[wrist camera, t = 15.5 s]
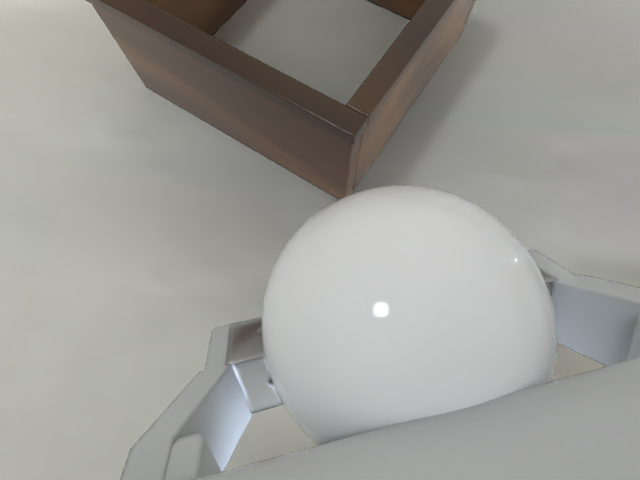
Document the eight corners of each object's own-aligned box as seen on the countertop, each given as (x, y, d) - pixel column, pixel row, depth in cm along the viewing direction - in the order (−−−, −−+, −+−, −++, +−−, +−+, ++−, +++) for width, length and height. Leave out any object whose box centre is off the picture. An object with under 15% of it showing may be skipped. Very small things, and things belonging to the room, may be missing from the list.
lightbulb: (401, 252, 17) (521, 85, 7) (458, 387, 15) (756, 449, 5) (275, 294, 16) (190, 182, 6) (318, 439, 15) (299, 641, 4)
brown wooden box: (280, -50, 24) (267, -172, 19) (464, 32, 22) (513, -82, 16) (143, 87, 20) (75, -14, 15) (345, 206, 18) (354, 137, 12)
